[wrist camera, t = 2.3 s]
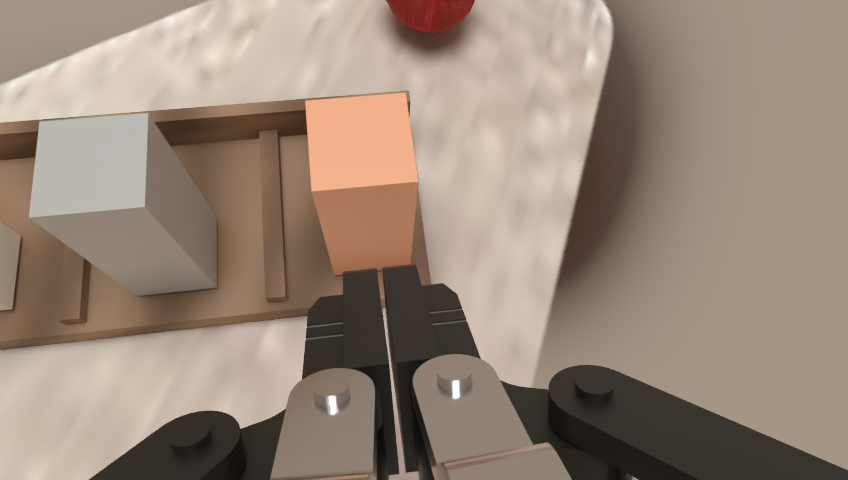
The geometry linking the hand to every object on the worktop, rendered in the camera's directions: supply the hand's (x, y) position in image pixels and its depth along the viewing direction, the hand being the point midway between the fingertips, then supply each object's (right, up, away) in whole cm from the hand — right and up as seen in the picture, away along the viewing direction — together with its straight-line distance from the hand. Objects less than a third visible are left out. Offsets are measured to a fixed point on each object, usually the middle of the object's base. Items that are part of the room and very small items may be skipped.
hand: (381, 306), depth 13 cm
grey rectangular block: (-12, +1, +19) cm, 22 cm away
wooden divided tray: (-12, +2, +21) cm, 25 cm away
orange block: (-2, +2, +20) cm, 20 cm away
